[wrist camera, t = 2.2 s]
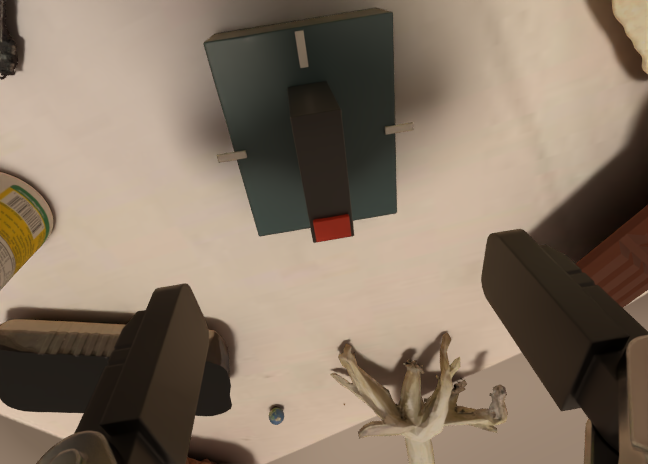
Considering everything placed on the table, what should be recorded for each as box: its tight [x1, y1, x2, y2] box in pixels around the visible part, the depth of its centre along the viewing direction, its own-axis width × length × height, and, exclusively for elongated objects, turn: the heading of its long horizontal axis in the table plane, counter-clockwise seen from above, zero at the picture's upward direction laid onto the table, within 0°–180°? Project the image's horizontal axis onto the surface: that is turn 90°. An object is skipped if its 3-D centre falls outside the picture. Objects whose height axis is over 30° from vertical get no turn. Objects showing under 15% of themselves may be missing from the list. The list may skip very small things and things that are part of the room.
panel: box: [204, 8, 413, 236], centre depth 19 cm, size 10×10×3 cm
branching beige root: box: [330, 332, 508, 464], centre depth 33 cm, size 9×16×15 cm
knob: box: [287, 81, 354, 243], centre depth 16 cm, size 6×2×5 cm, turn 8°
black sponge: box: [0, 319, 232, 416], centre depth 28 cm, size 16×8×4 cm, turn 78°
